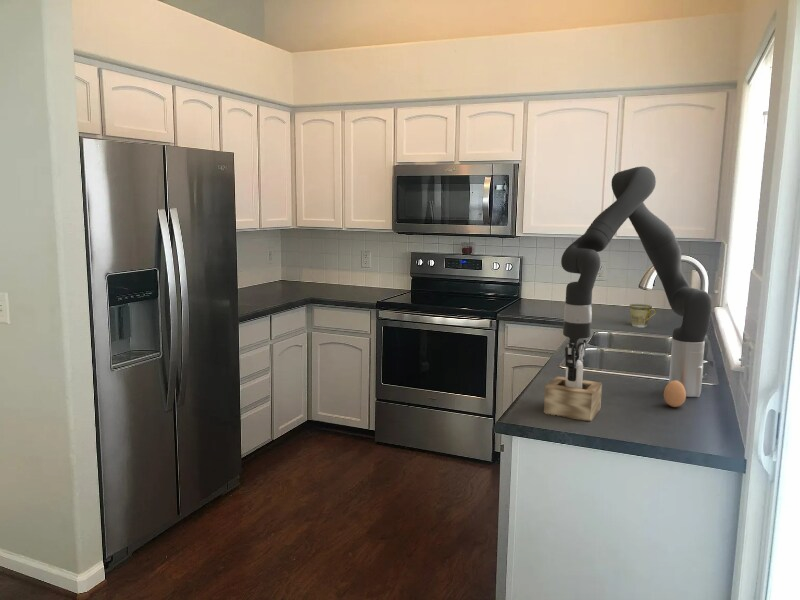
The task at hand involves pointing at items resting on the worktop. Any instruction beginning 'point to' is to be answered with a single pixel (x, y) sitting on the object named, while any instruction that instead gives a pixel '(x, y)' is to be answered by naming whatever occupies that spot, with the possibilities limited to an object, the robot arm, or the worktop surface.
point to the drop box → (573, 399)
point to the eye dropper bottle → (578, 376)
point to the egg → (674, 393)
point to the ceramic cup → (640, 314)
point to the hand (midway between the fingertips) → (574, 378)
